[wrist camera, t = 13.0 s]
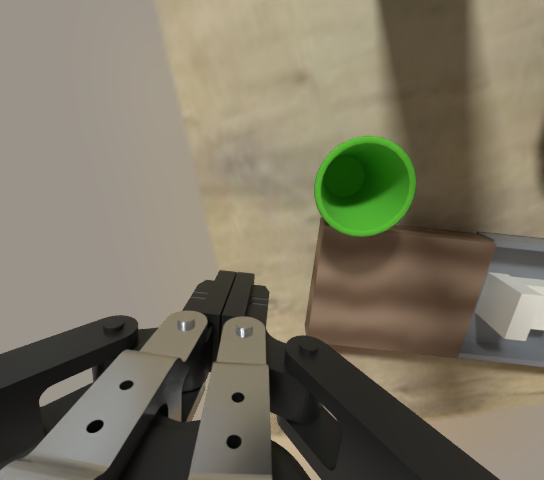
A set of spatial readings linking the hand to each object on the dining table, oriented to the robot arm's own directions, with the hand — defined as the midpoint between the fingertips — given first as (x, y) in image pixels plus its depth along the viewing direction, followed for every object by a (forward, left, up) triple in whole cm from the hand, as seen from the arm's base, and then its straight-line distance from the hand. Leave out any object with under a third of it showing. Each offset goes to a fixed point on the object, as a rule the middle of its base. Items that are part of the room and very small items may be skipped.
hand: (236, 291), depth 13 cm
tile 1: (+10, +30, -24) cm, 39 cm away
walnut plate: (+10, +17, -27) cm, 34 cm away
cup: (-3, +9, -27) cm, 29 cm away
